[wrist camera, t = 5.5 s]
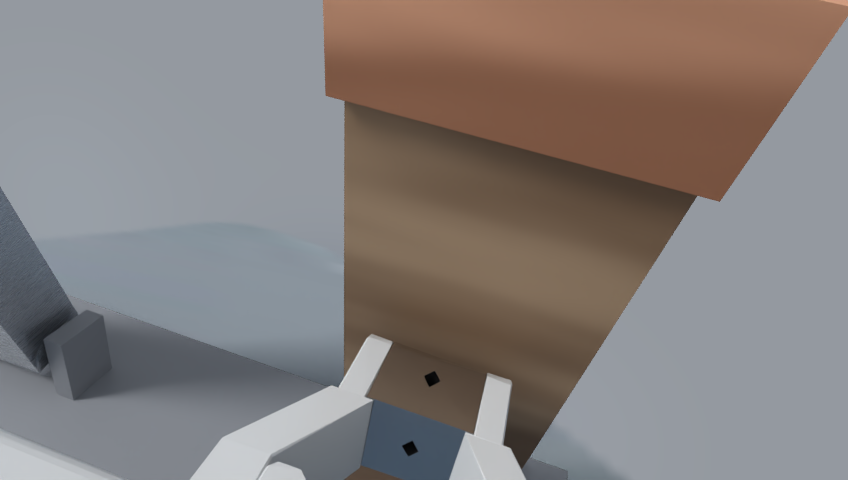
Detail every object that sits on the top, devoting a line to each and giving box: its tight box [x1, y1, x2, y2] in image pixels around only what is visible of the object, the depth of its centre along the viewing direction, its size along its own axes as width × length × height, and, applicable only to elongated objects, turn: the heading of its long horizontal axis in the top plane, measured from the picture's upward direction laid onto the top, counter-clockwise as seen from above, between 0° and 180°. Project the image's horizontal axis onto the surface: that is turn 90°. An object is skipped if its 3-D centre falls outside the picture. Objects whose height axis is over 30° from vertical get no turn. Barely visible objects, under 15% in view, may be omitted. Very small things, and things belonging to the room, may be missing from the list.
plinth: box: [0, 295, 568, 480], centre depth 21 cm, size 8×30×6 cm, turn 75°
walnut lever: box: [323, 0, 848, 480], centre depth 13 cm, size 3×5×19 cm, turn 74°
